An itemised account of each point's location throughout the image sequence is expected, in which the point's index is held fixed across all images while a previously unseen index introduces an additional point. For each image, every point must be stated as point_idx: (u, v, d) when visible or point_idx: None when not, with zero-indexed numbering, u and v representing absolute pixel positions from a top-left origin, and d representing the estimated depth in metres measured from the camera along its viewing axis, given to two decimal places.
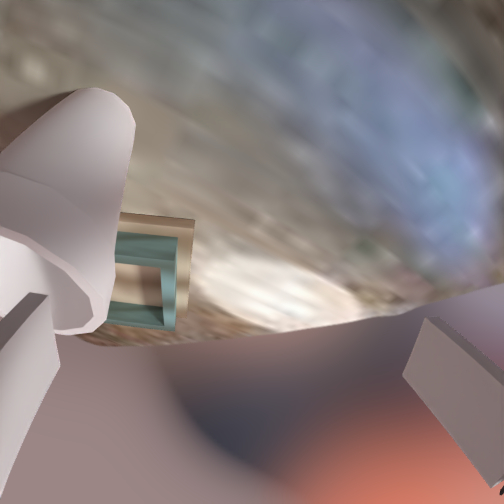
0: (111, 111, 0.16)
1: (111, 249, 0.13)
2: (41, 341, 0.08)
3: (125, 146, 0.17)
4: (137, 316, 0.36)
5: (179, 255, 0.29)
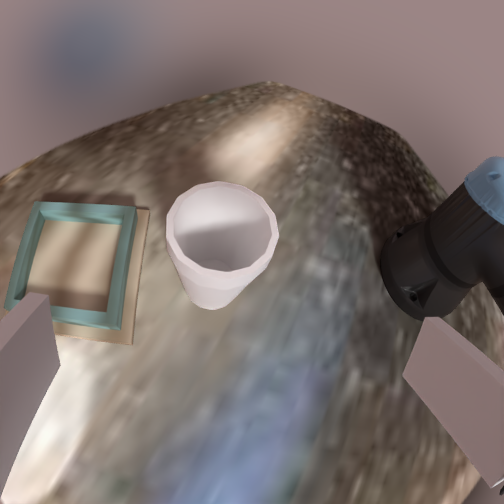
0: None
1: (227, 289, 0.26)
2: (41, 341, 0.08)
3: (220, 303, 0.33)
4: (22, 275, 0.31)
5: (98, 329, 0.32)
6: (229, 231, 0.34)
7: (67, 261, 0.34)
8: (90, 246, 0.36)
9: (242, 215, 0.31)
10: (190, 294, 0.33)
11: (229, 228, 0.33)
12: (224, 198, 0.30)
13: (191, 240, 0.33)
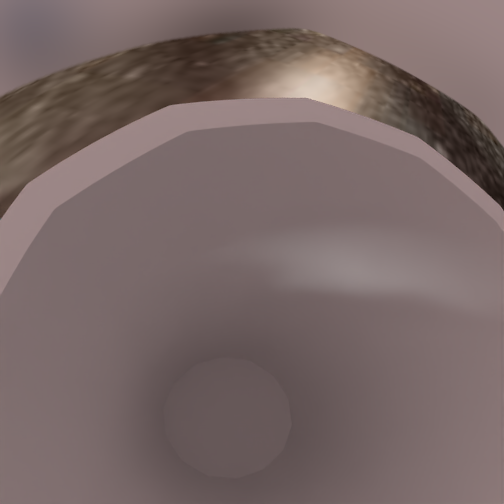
0: None
1: None
2: None
3: (261, 501, 0.09)
4: None
5: None
6: (296, 314, 0.10)
7: None
8: None
9: (379, 276, 0.07)
10: None
11: (302, 307, 0.09)
12: (322, 200, 0.06)
13: (167, 346, 0.09)
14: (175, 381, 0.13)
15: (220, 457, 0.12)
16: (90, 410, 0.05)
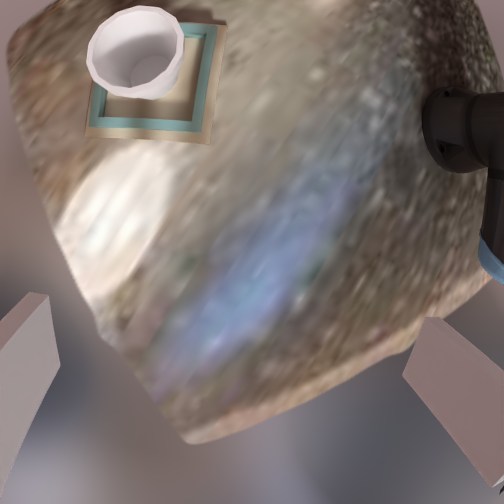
0: (168, 90, 0.35)
1: (137, 97, 0.27)
2: (41, 341, 0.08)
3: (151, 98, 0.34)
4: (103, 92, 0.34)
5: (179, 133, 0.38)
6: (161, 38, 0.29)
7: None
8: None
9: (164, 29, 0.26)
10: None
11: (160, 36, 0.28)
12: (146, 18, 0.24)
13: (128, 47, 0.29)
14: (136, 63, 0.34)
15: None
16: (106, 55, 0.26)
